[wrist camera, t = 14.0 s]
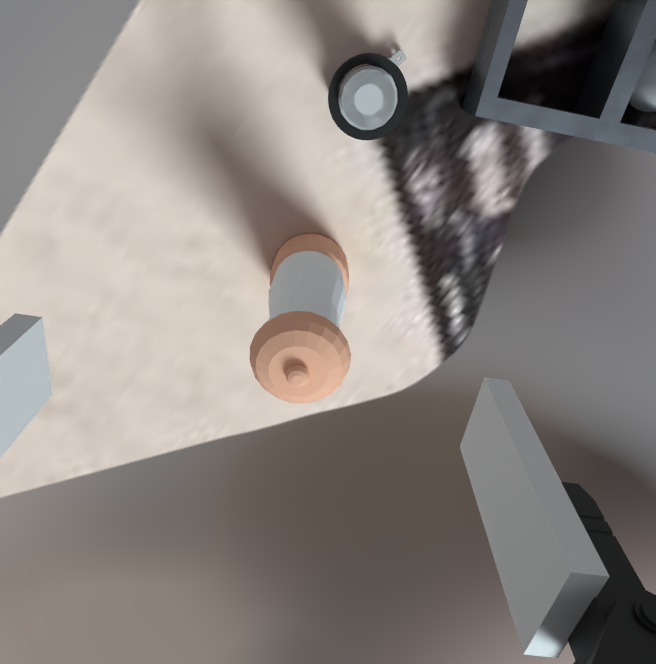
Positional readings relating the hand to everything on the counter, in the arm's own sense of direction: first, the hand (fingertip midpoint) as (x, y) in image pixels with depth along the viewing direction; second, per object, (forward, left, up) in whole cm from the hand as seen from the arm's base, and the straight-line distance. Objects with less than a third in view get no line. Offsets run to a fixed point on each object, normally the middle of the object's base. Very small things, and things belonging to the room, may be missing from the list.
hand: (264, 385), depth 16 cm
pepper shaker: (+10, +2, -34) cm, 36 cm away
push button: (-7, +4, -34) cm, 35 cm away
